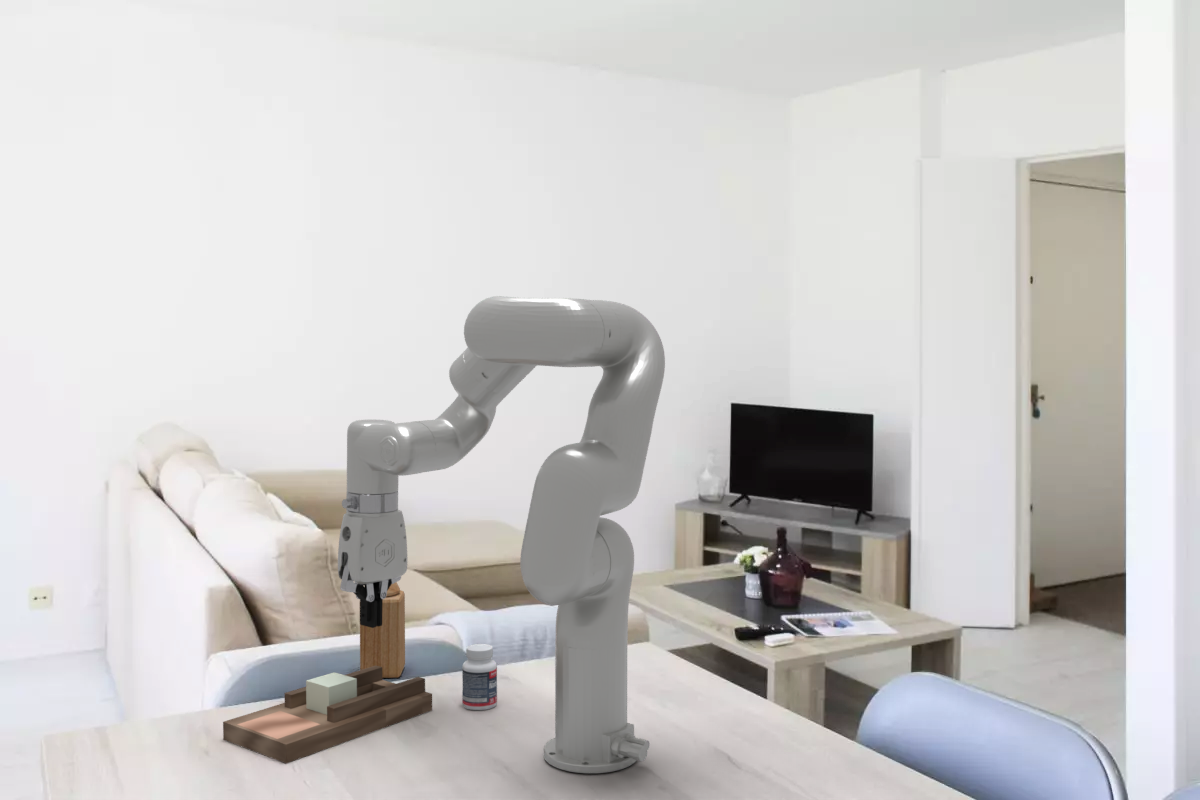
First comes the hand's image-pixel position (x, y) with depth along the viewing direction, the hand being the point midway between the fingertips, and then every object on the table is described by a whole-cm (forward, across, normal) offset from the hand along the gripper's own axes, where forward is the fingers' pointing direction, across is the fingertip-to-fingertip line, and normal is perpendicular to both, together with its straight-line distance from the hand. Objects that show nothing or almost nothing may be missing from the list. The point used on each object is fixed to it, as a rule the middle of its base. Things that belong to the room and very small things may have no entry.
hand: (371, 625), depth 160 cm
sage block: (+10, -8, -1) cm, 13 cm away
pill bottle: (+13, +11, -12) cm, 21 cm away
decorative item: (+13, +13, +12) cm, 22 cm away
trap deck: (+13, -8, -1) cm, 15 cm away
